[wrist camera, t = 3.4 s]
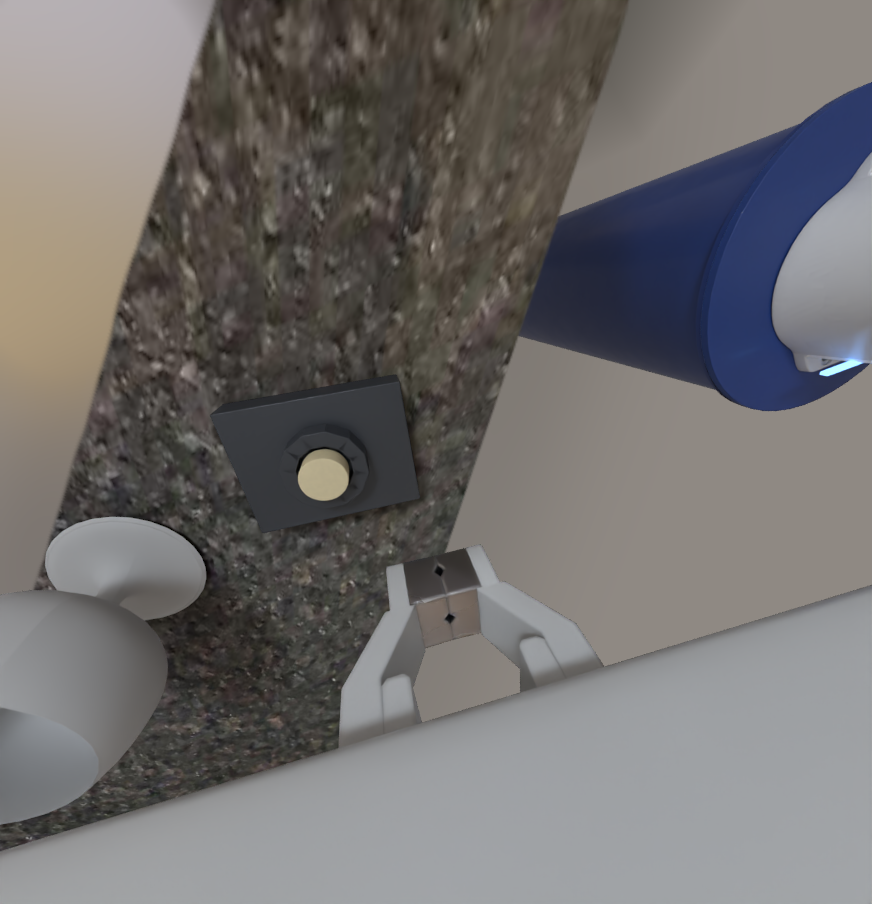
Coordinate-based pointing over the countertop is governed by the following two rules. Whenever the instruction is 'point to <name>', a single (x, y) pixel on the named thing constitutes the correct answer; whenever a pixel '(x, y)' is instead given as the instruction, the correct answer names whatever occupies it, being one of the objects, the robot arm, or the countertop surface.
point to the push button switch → (324, 475)
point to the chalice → (86, 657)
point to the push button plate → (313, 428)
